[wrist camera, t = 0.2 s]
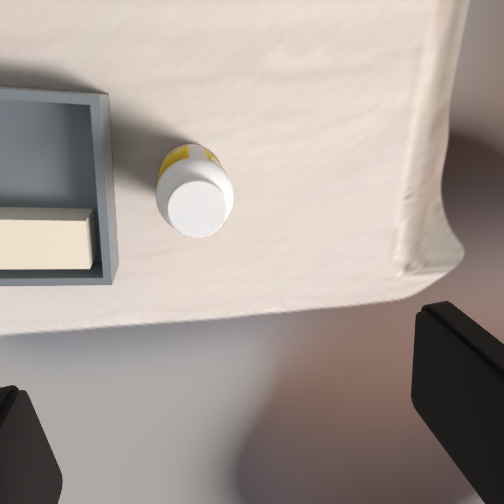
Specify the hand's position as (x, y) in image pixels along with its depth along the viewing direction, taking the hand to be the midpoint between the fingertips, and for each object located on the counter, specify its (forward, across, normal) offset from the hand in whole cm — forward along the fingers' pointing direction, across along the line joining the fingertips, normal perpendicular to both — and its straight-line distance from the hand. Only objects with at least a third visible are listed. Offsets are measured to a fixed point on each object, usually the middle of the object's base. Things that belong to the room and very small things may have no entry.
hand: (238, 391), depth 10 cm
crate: (+36, +15, 0) cm, 39 cm away
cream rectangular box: (+35, +16, +5) cm, 39 cm away
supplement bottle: (+36, 0, +2) cm, 36 cm away
